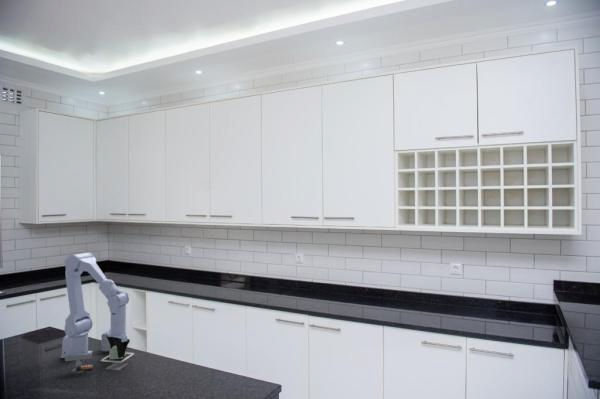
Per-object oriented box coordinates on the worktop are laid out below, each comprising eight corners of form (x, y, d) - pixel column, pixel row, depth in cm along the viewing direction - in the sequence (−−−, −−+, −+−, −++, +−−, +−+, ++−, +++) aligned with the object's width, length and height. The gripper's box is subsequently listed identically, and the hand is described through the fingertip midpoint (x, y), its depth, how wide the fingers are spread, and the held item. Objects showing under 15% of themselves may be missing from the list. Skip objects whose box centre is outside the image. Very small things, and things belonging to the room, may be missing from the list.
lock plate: (57, 376, 147) (58, 372, 147) (81, 363, 159) (81, 359, 159) (110, 380, 144) (110, 377, 144) (130, 366, 156) (130, 363, 156)
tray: (100, 364, 158) (100, 360, 158) (114, 355, 168) (114, 351, 168) (121, 365, 157) (121, 362, 157) (134, 356, 166) (134, 353, 166)
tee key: (64, 372, 147) (65, 356, 147) (66, 370, 149) (66, 354, 149) (91, 368, 150) (91, 353, 150) (92, 366, 152) (92, 352, 152)
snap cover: (109, 359, 159) (109, 349, 159) (113, 354, 164) (113, 345, 164) (122, 358, 160) (122, 349, 160) (125, 354, 165) (125, 344, 165)
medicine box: (123, 350, 174) (123, 330, 174) (119, 353, 169) (119, 334, 169) (105, 350, 173) (106, 330, 174) (101, 354, 169) (101, 334, 169)
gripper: (101, 320, 165) (101, 352, 164) (114, 328, 154) (114, 362, 154) (119, 317, 170) (118, 348, 169) (132, 324, 159) (132, 357, 159)
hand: (117, 354), depth 162 cm, fingers closed on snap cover, 7 cm apart
